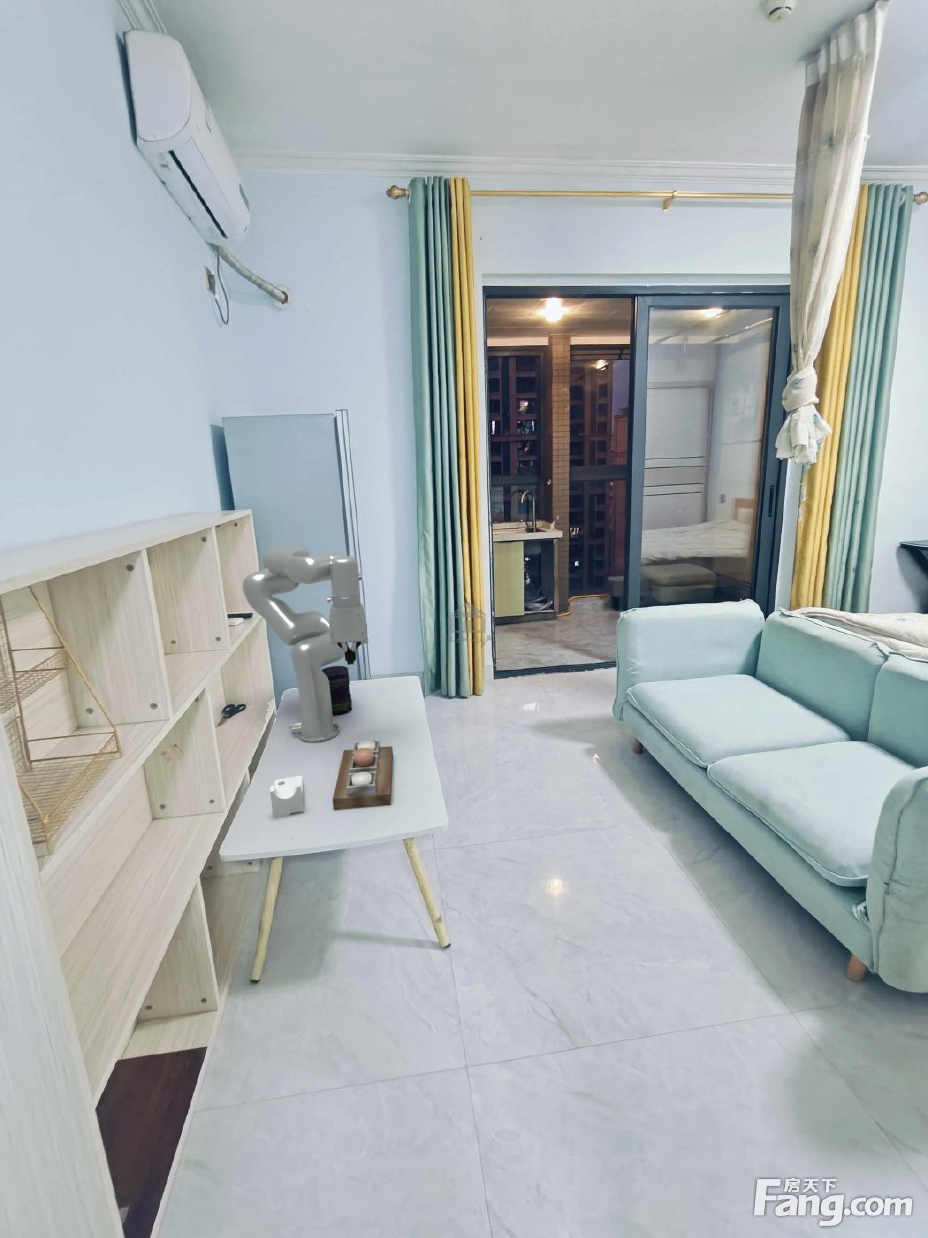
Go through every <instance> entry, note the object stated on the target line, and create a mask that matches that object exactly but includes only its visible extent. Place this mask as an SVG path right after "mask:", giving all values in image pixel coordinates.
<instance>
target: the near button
mask: <svg viewBox="0 0 928 1238" xmlns="http://www.w3.org/2000/svg"><path fill="white" fill-rule="evenodd" d="M351 779H352V786H358V785H370V784H372V776H371V774H370V773H368V772H359V773H356V774H354V775H353V776H352V778H351Z"/></svg>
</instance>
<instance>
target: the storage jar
mask: <svg viewBox="0 0 928 1238" xmlns="http://www.w3.org/2000/svg"><path fill="white" fill-rule="evenodd" d="M321 670H322V672H323V673H324V674H325V675H326V676H327V677H328V680H329V686H330V696H331V705H332V714H333V717H340V716H345V715H347V713H348V714H349V713H351V712H352V711H353V706H352V704H353V703H352V701H353V700H352V694H351V690H350V689H351V688H350V673H349V668H348V667H347V666H344V665H334V666H333V665H332V666H328V667H325V668H321ZM350 711H351V712H350ZM344 714H345V715H344Z"/></svg>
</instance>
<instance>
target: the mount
mask: <svg viewBox="0 0 928 1238" xmlns="http://www.w3.org/2000/svg"><path fill="white" fill-rule="evenodd" d="M373 741H374V742H375V747H376V751H373V759H374V762H373V764H371V765H370V766H366V767H358V766H356V765H355V761H354V752H355V751H356V750H357V749H358V748H357V745H358V743H360V742H361V741H355V742H354V746H353V749H352V748H351V749H344V750H343V752H342V756H341V760H340V765H339V770H338V773H337V774H338V775H337V778H336V783H335V786H334V787H335V788H334V792H333V796H332V805H333V811H338V810H348V809H349V810H350V809H360V808H371V807H381V806H391V805H392V787H393V784H392V783H393V782H392V781H393V765H394V764H393V762H394V751H393V746H392V745H390V746H389V745H388V746H381V742H380V741H381V740H380V739H377V740H376V739H375V740H373ZM359 772H368V773H370V774H371V776H372V784H370V785H358V786H352V779H351V778H352V776H353V775H354V774H356V773H359Z"/></svg>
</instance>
